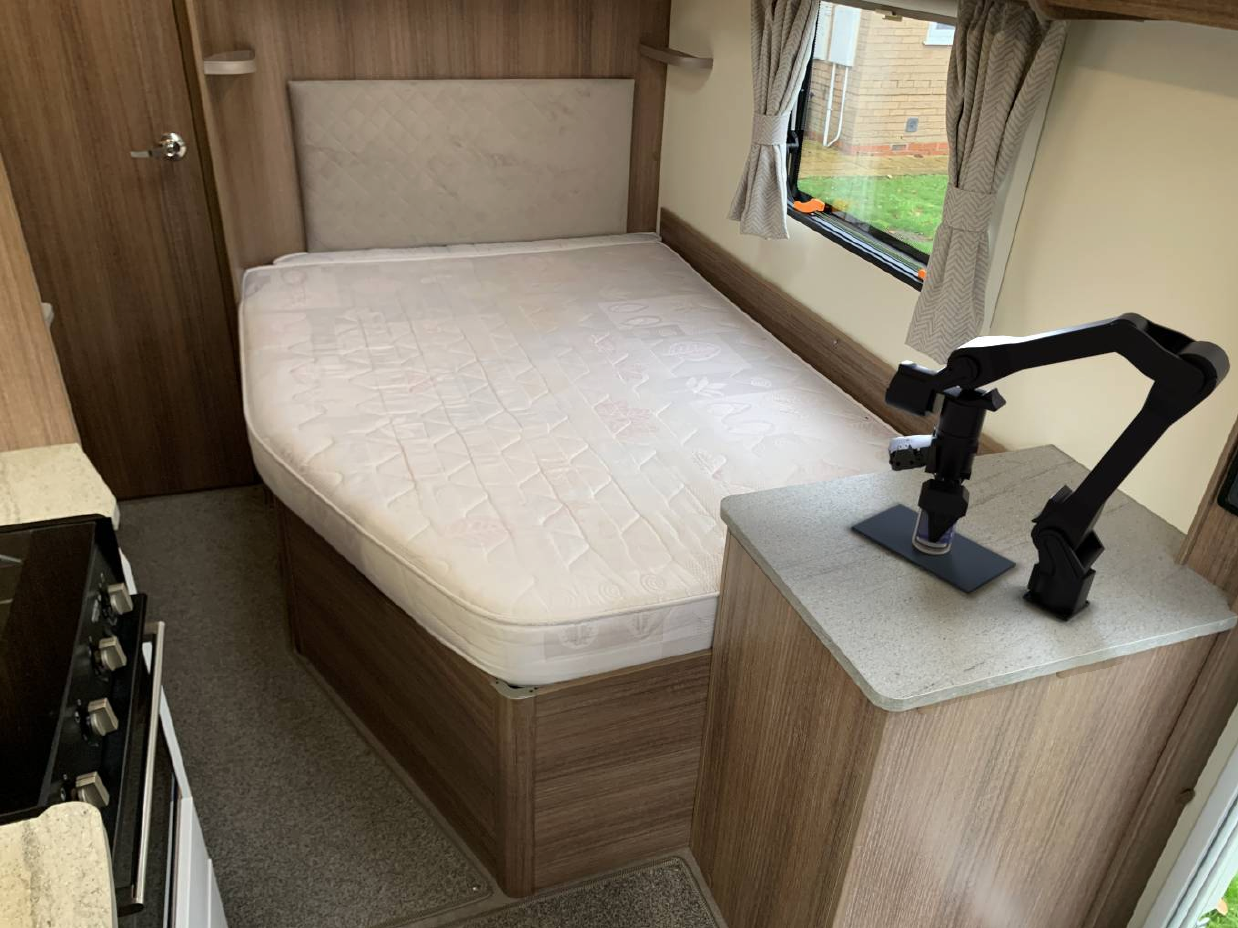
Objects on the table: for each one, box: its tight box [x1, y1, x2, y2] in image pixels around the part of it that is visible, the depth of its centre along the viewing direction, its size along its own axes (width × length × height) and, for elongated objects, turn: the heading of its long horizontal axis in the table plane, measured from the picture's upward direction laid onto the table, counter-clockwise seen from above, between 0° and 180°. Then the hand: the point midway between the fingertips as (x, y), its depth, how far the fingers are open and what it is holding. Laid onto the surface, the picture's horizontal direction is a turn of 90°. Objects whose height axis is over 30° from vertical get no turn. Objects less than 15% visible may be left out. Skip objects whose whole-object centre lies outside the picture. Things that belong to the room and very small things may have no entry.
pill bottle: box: [912, 507, 958, 555], centre depth 136 cm, size 5×5×10 cm
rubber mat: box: [851, 503, 1017, 595], centre depth 139 cm, size 20×12×1 cm, turn 39°
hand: (934, 526), depth 137 cm, fingers open, 9 cm apart
